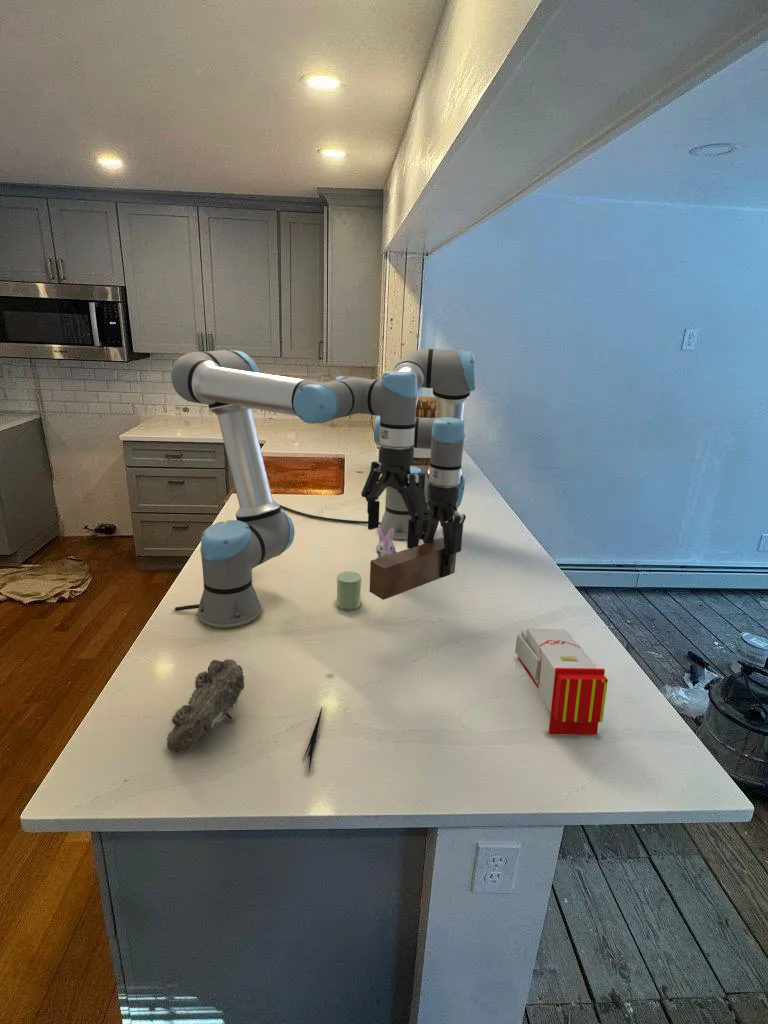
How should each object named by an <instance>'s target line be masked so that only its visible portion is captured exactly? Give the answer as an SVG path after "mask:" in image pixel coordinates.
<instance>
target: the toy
mask: <svg viewBox="0 0 768 1024" xmlns="http://www.w3.org/2000/svg"><path fill="white" fill-rule="evenodd" d="M520 632H521V633H520V634H519V633H518V634H517V635H516V642H515V647H514V653H515V654H516V655H517V660H518V661H519V663H520V664H521V666H522V667H523V669H524V670H525V672H526V673H527V675H528V676H529V678H530V680H531V681H532V683H533V684H534V685H535V687H536V688H537V689H538V692H539V694H540V696H541V697H542V699H543V701H544V702H545V704H546V706H547V708H548V710H549V711H550V716H549V724H548V734H549V735H566V736H567V735H568V736H569V735H571V736H575V735H576V736H597V735H598V730H599V723H603V722H604V714H605V705H606V698H607V689H608V682H609V680H608V678H607V677H606V676H605V674H606V669H604V668H599V667H598V666H597V664H596V663H594V662H593V660H592V659H591V657H589V655H588V654H587V653H586V652H585V650H584V649H583V648H582V647H581V646H580V644H579V643H578V642H577V641H576V640H575V639H574V637H573V636H572V635H571V634H570V632H569V631H568V630H567V629H566V628H535V627H534V628H533V627H532V628H531V627H529V628H526V630H523V629H521V631H520Z"/></svg>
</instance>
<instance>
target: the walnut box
mask: <svg viewBox="0 0 768 1024" xmlns="http://www.w3.org/2000/svg"><path fill="white" fill-rule="evenodd" d="M396 552H397V553H393V554H390V555H387V556H384V557H381V558H378V559H377V558H375V559H372V560H370V566H369V567H370V568H369V589H368V590H369V593H371V594H372V595H374V596H376V597H378V598H379V599H381V600H382V601H385V600H388V599H389V598H393V597H395V596H398V595H400V594H403V593H405V592H408V591H410V590H414V589H416V588H418V587H421V586H423V585H427V584H429V583H431V582H434V581H436V580H440V579H442V577H440V574H441V562H442V553H443V552H445V547H444V538H443V537H441V538H437V539H434V541H431V542H428V543H425V544H424V543H422V544H419V545H418V546H417V547H414V548H411V549H409V548H406V549H403V550H400V551H396ZM456 563H457V553H455V554H454V556H453V564H452V565H451V568H450V575H452V574H455V572H456Z"/></svg>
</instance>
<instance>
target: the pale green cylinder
mask: <svg viewBox="0 0 768 1024" xmlns="http://www.w3.org/2000/svg"><path fill="white" fill-rule="evenodd" d="M361 599H362V575H361V574H360V573H358V572H355V571H342V572H340V573H338V574H337V576H336V606H337V607H338V608H340V609H342V610H348V611H349V610H355V609H357V608H359V607H360V606H361Z"/></svg>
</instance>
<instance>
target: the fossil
mask: <svg viewBox="0 0 768 1024" xmlns="http://www.w3.org/2000/svg"><path fill="white" fill-rule="evenodd" d="M243 670H244V669H243V667H242V665H240V664H237V662H236V661H235V660H234V659H232V658H231V659H227V658H226V659H224V660H223V661H222V660H217V659H212V660H211V661H210V663H209V665H208V666H207V671H201V672H199V673H198V674H197V675H196V676H195V680H194V684H195V685H194V687H195V689H194V690H193V693H192V694H191V697H190V698H189V700H188V704H184V705H182V706H181V707H180V709H177V710H176V711H175V713H174V715H173V716H172V718H171V723H172V724H173V727H172V730H171V731H170V732H168V734H167V738H166V741H167V742H166V745H167V749H168V750H169V751H173V752H174V753H176V754H178V753H182V752H188V751H189V752H192V751H193V750H195V748H196V747H197V746H199V744H200V743H201V742H203V741H204V740H205V739H206V738H207V737H208V736H209V735H210V734H211V733H212V732H214V730H215V729H217V727H218V726H219V724H220V722H221V721H222V720H223V719H224V718H225V716H226V717H227V719H229V720H233V717H232V715H230V714H229V710H230V709H231V708H234V706H235V704H236V703H237V702H238V699H239V697H240V695H241V693H242V691H243V690H245V689H244V688H245V675H244V671H243Z"/></svg>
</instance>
